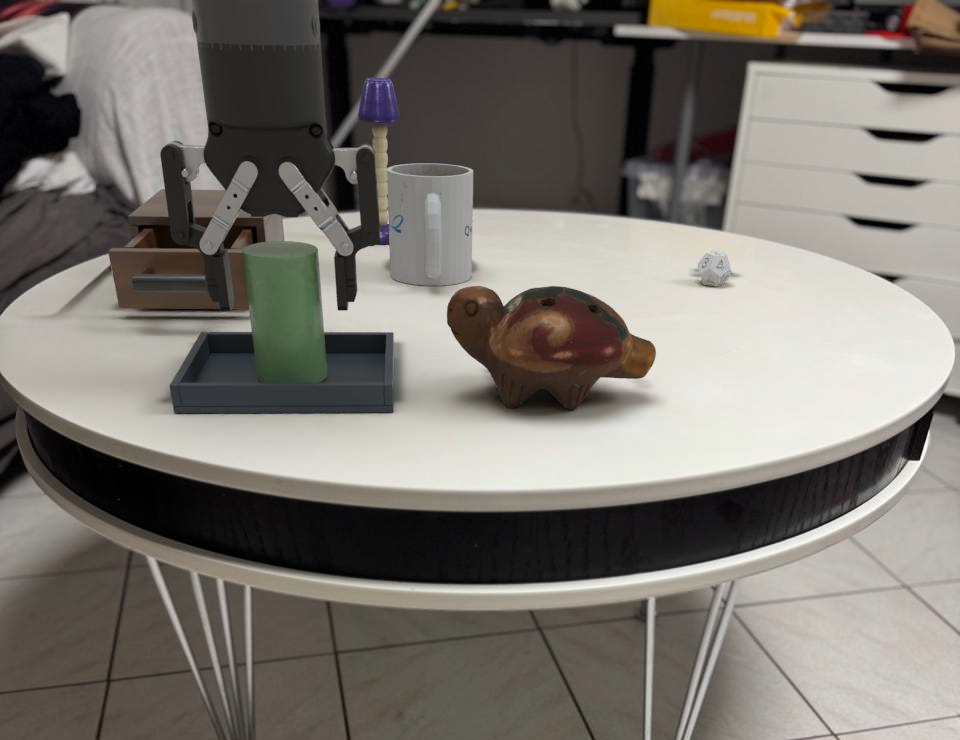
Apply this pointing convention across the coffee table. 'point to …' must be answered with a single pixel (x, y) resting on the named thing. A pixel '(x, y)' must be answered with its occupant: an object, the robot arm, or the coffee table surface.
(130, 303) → the drawer
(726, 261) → the game die
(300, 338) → the can
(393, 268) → the mug
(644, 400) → the coffee table surface
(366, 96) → the toy lamp
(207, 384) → the tray
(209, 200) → the cabinet
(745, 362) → the coffee table surface
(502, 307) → the decorative turtle
